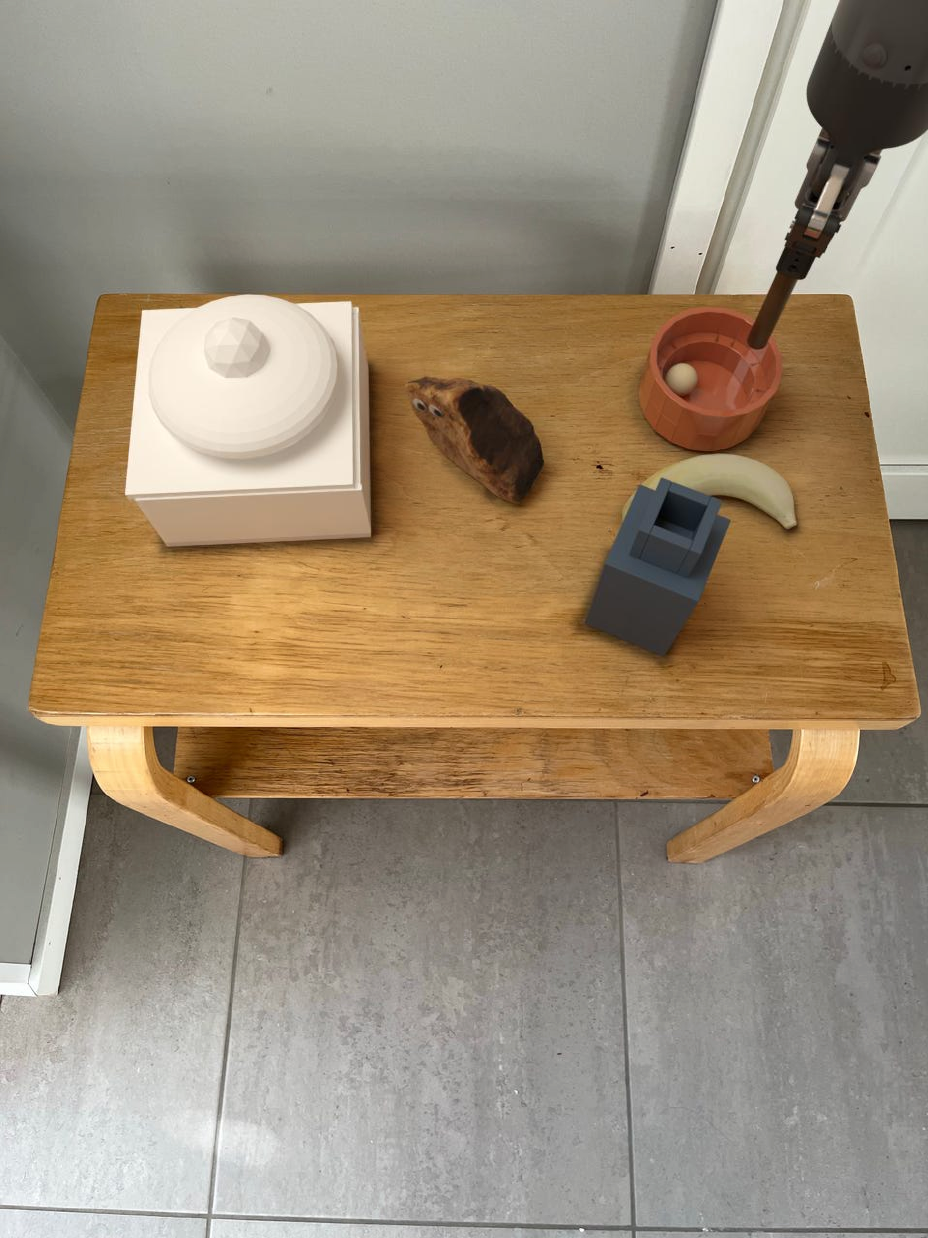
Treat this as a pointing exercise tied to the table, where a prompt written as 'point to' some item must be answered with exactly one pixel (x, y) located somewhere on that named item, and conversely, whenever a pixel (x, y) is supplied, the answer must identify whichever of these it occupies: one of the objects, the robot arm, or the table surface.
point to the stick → (771, 311)
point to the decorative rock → (479, 433)
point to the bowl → (709, 379)
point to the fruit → (731, 483)
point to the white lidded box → (252, 422)
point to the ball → (681, 379)
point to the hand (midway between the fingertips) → (795, 260)
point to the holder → (658, 565)
